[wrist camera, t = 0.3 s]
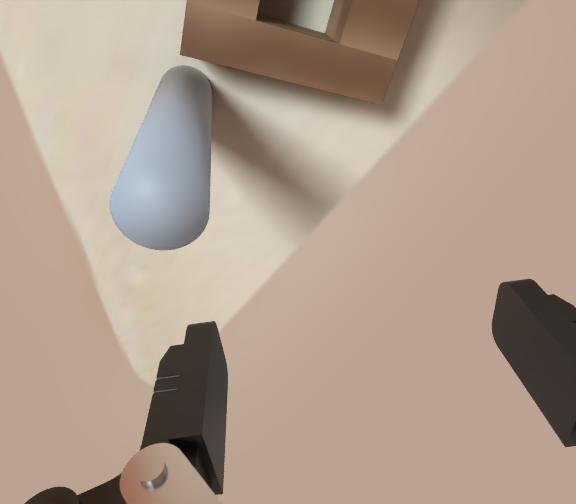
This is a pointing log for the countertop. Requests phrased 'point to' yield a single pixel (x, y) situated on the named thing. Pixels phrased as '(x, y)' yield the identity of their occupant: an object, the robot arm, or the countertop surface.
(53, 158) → the countertop surface
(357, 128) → the countertop surface
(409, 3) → the socket block
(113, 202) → the long pin
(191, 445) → the robot arm
